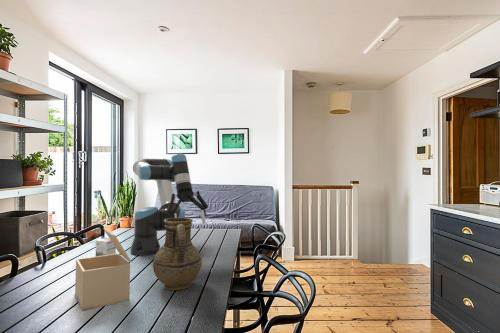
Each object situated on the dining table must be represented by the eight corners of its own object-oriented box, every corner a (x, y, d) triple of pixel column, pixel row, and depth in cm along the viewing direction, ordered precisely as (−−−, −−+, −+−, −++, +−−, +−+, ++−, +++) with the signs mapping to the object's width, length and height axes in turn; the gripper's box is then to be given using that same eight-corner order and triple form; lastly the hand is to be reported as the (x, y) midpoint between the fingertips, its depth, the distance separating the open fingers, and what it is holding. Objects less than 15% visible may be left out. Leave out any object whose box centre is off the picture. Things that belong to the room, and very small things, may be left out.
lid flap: (103, 228, 113) (104, 227, 113) (118, 252, 116) (120, 251, 116) (112, 235, 101) (114, 234, 101) (129, 262, 104) (131, 261, 104)
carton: (75, 293, 108) (76, 259, 108) (117, 285, 116) (118, 253, 116) (82, 310, 95) (82, 271, 95) (129, 300, 103) (130, 264, 104)
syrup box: (116, 272, 131) (116, 238, 132) (105, 277, 126) (106, 241, 126) (105, 271, 133) (106, 237, 133) (94, 275, 128) (95, 239, 128)
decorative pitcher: (206, 294, 109) (207, 223, 110) (153, 300, 103) (155, 225, 104) (196, 274, 130) (197, 214, 130) (151, 279, 124) (153, 216, 124)
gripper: (159, 183, 146) (166, 227, 139) (209, 179, 158) (217, 219, 152) (156, 188, 152) (163, 231, 145) (204, 184, 164) (212, 223, 158)
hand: (190, 225), depth 148 cm, fingers open, 13 cm apart
